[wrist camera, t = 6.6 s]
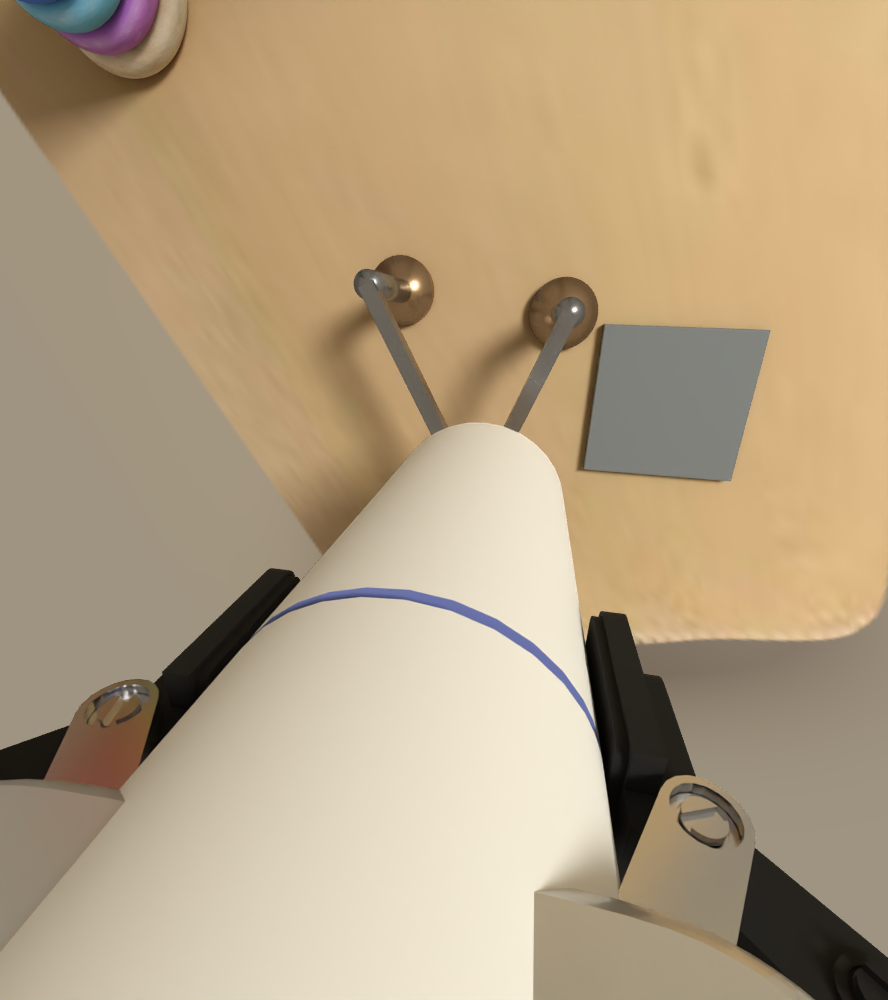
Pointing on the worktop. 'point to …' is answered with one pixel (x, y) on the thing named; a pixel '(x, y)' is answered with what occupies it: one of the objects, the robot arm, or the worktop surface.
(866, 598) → the worktop surface
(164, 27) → the stacking toy
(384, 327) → the metal linkage
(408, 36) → the worktop surface
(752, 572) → the worktop surface
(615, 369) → the mat
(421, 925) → the cylindrical container
